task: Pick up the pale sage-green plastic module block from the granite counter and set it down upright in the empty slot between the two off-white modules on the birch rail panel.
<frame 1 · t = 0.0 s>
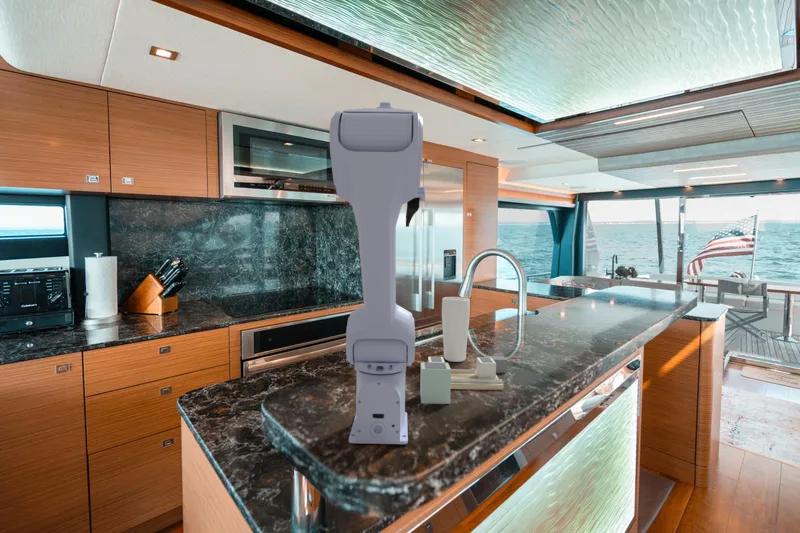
hand: (389, 223, 82), 32 cm above the table, tool tilted 50°, fingers open, 7 cm apart
module: (434, 399, 67), on the table
din rail: (460, 375, 76), on the rail panel, point 1 cm above the table
rail panel: (460, 382, 76), on the table
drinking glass: (454, 360, 92), on the table
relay: (495, 371, 84), on the table
mounted modules: (461, 368, 76), on the rail panel, point 3 cm above the table
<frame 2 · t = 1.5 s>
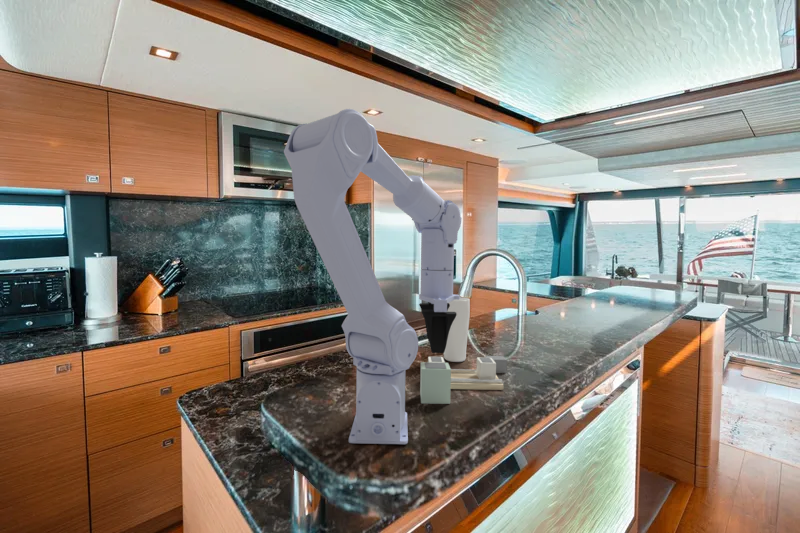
hand: (435, 346, 66), 9 cm above the table, tool pointing down, fingers open, 7 cm apart
nothing on the table moved.
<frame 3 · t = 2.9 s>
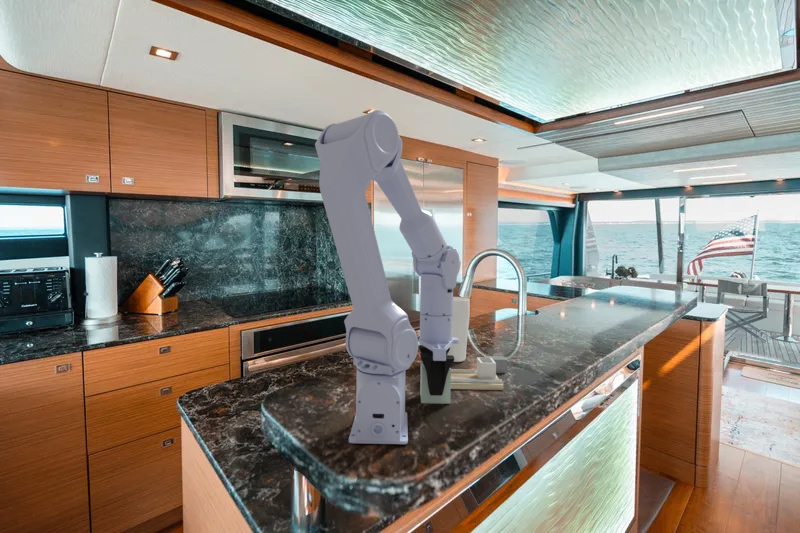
hand: (434, 389, 67), 2 cm above the table, tool pointing down, fingers closed on module, 4 cm apart
module: (434, 398, 67), on the table, touching gripper
everything else where it was.
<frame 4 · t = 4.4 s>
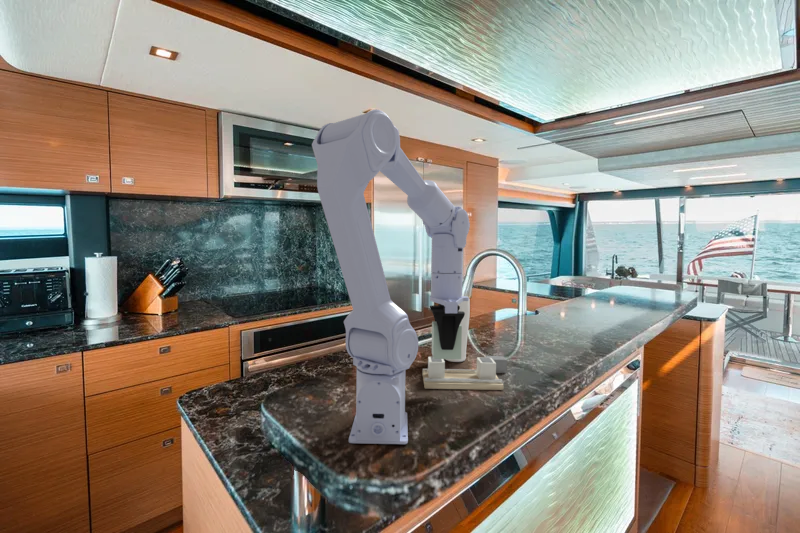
hand: (445, 346, 70), 9 cm above the table, tool pointing down, fingers closed on module, 4 cm apart
module: (446, 355, 70), point 7 cm above the table, touching gripper
everything else where it was.
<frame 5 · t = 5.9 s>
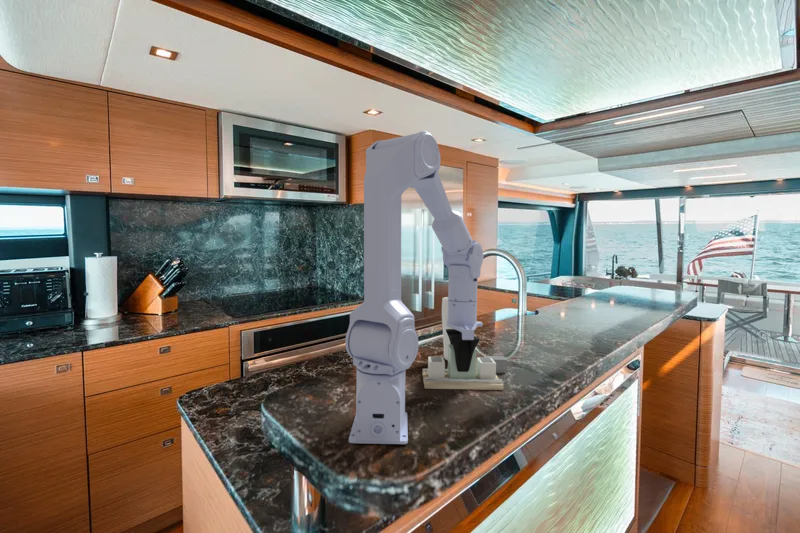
hand: (461, 367, 76), 3 cm above the table, tool pointing down, fingers closed on module, 4 cm apart
module: (461, 376, 76), point 1 cm above the table, touching gripper
everything else where it was.
when the fingers open (3 cm above the table, at t = 6.3 s): module stays where it is, resting on rail panel.
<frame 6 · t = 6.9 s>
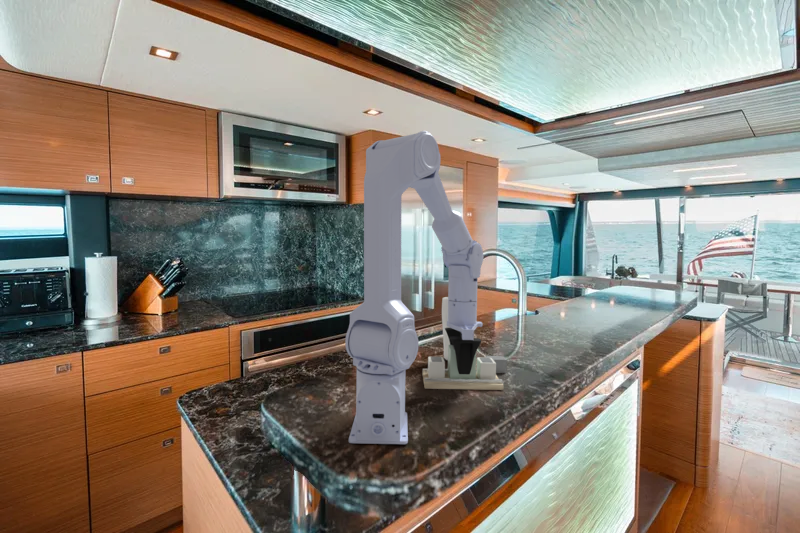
hand: (461, 367, 76), 3 cm above the table, tool pointing down, fingers open, 7 cm apart
module: (461, 377, 76), point 1 cm above the table, touching rail panel
everything else where it was.
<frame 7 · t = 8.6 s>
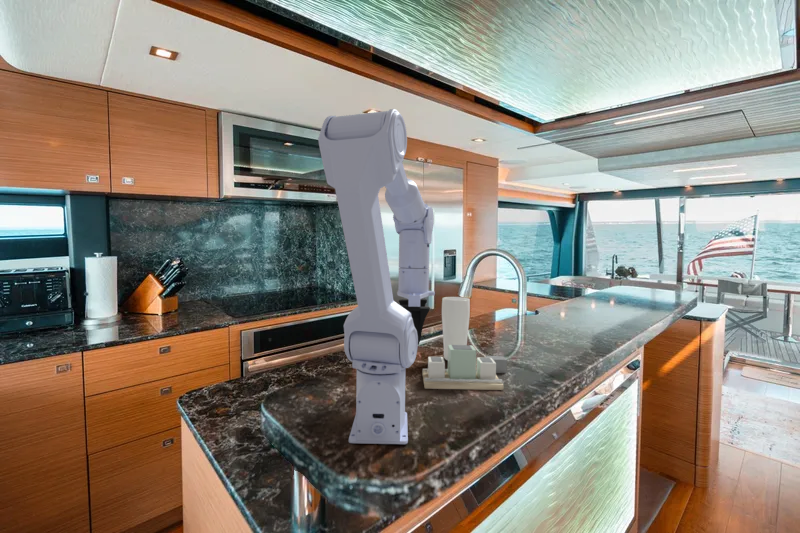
hand: (412, 339, 71), 9 cm above the table, tool pointing down, fingers open, 7 cm apart
nothing on the table moved.
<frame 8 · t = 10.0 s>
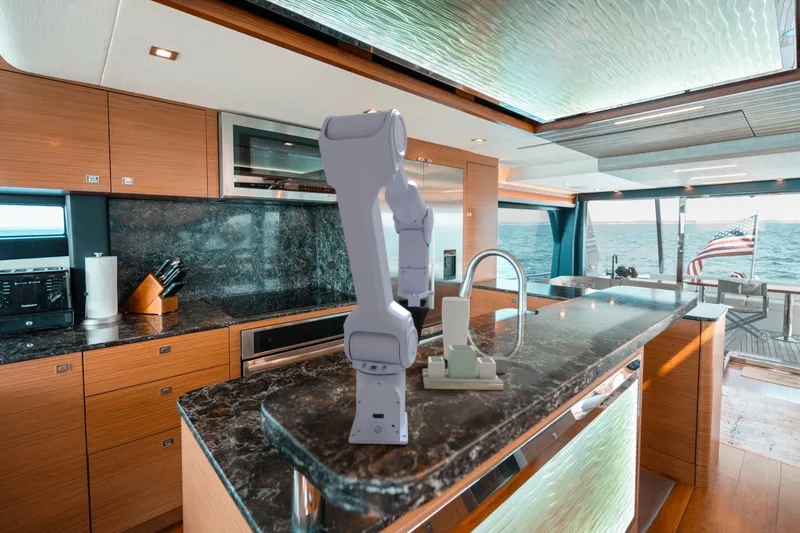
hand: (412, 339, 71), 9 cm above the table, tool pointing down, fingers open, 7 cm apart
nothing on the table moved.
at the end: module 0.1 cm off-centre on the rail panel, point 1.0 cm above the rail panel's base; module tilted 0°; the gripper is holding nothing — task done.
